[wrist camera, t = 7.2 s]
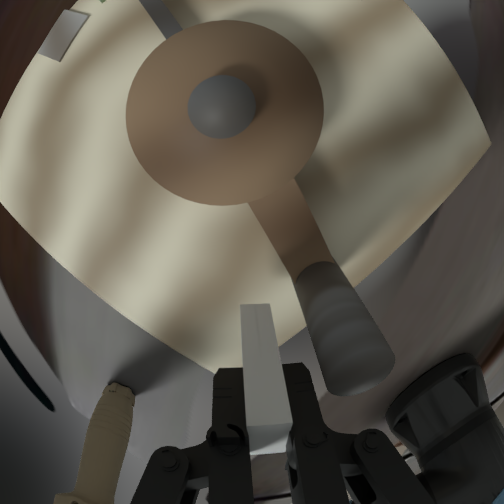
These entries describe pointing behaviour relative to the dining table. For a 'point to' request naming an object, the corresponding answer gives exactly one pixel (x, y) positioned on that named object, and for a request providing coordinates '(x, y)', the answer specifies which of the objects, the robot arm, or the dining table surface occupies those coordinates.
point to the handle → (103, 448)
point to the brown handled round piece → (253, 165)
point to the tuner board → (238, 216)
